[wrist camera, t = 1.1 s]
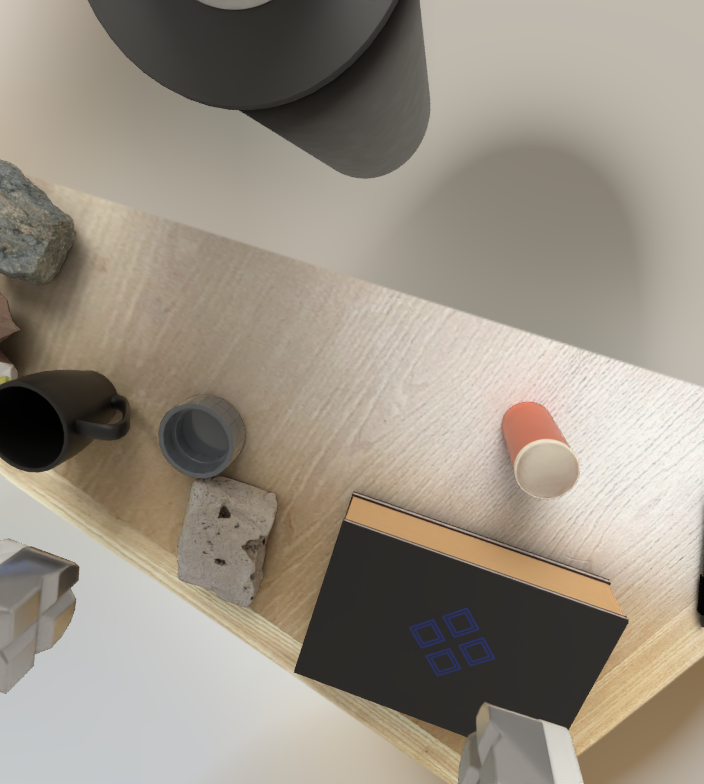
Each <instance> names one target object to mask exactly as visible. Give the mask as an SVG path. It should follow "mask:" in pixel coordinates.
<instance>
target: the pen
mask: <svg viewBox="0 0 704 784" xmlns="http://www.w3.org/2000/svg"><path fill="white" fill-rule="evenodd" d="M697 611H698V613H699V622H700V625H701V627H704V548H703V560H702V572H701V574H700V580H699V593H698V607H697Z"/></svg>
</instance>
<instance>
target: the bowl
mask: <svg viewBox="0 0 704 784" xmlns="http://www.w3.org/2000/svg"><path fill="white" fill-rule="evenodd" d="M158 435H159V445H160V447H161V450H162V452H163V454H164V456H165V458H166V459H167V460H168V462H169V463H170V464H171V465H172V466H173V467H174V468H175V469H177V470H178V471H179V472H181V473H182V474H185V475H188V476H190V477H194V478H208V477H212V476H216V475H218V474H219V473H220V472H222V471H223V470H225V469H226V468H227V467H228V466H229V465H230V464H231V462H232V461H233V460H234V459H235V458H236V457H237V456H238V454H239V453H240V452H241V450H242V448H243V444H244V441H245V429H244V425H243V422H242V420H241V417H240V415H239V414H238V412H237V411H236V410H235V409H234V407H232V406H231V405H230V404H229V403H227V402H226V401H225V400H223V399H221V398H218V397H216V396H213V395H197V396H193V397H190V398H188V399H187V400H185V401H183V402H182V403H180V404H179V405H177V406H175V407H174V408H173V409H171V410H170V411H169V412H167V413H166V415H165V416H164V418H163V420H162V421H161V423H160V428H159V434H158Z"/></svg>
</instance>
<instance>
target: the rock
mask: <svg viewBox="0 0 704 784" xmlns="http://www.w3.org/2000/svg"><path fill="white" fill-rule="evenodd" d="M74 238H75V231H74V223H73V219H72V218H71V217H70V216H69V215H67V214H65V213H64V212H62V211H61V210H60V209H59V208H58V207H56V206H54V205H53V204H52V202H51V200H50V199H49V198H48V197H47V196H46V194H45V193H44V192H43V191H42V190H40V189H39V188H38V187H37V186H35V185H34V184H33V183H32V182H31V181H30V180H29V179H27V178H25V176H24V175H23V173H22V171H21V170H20V169H19V168H17V167H16V166H15V165H13V164H12V163H9V162H7V161H3V160H0V273H1V274H3V275H5V276H7V277H9V278H19V279H21V280H24V281H27V282H30V283H32V284H35V285H41V284H47V283H49V282H50V281H51V280H52V278H54V277H55V276H56V275H57V274H58V273H59V272H60V269H61V266H62V265H63V263H64V262H65V259H66V256H67V254H66V253H67V251H68V250H69V249H70V248H71V246H72V244H73V241H74Z"/></svg>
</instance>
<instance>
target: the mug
mask: <svg viewBox="0 0 704 784" xmlns="http://www.w3.org/2000/svg"><path fill="white" fill-rule="evenodd" d="M116 410H119V411H121V412H122V413H123V417H122V420H121V421H119V422H118V423H116V424H110V425H107V423H108V422H109V421H110V419H111V418H112V417H113V416H114V414H115V413H116ZM129 427H130V408H129V403H128V400H127V399H126V398H125V397H123V396H120V395H117V393H116V390H115V388H114V386H113V385H112V383H111V382H110V381H109V380H108V379H107V378H106V377H105V376H103V375H102V374H100V373H97V372H94V371H80V370H53V371H44V372H38V373H34V374H30V375H27V376H23V377H20V378H17V379H14V380H11V381H8V382H5V383H2V384H0V457H1V458H2V459H3V460H4V461H6V462H7V463H8V464H10V465H11V466H13V467H15V468H17V469H20V470H23V471H27V472H43V471H48V470H50V469H52V468H54V467H56V466H58V465H59V464H61V463H63V462H65V461H66V460H68V459H70V458H71V457H73V456H75V455H76V454H78V453H79V452H80V451H82V450H83V449H84V448H85V447H86V446H88V445H89V444H90V443H91V442H92V441H93V440H94V439H99V440H117V439H120V438H122V437H123V436H125V435H126V434H127V432H128V430H129Z"/></svg>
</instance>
